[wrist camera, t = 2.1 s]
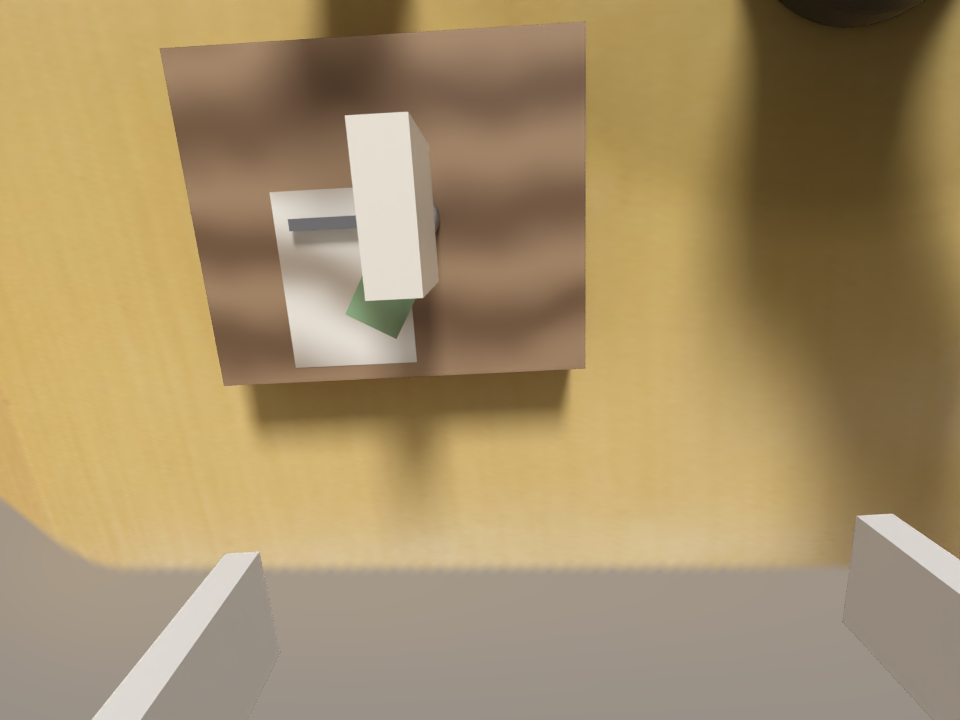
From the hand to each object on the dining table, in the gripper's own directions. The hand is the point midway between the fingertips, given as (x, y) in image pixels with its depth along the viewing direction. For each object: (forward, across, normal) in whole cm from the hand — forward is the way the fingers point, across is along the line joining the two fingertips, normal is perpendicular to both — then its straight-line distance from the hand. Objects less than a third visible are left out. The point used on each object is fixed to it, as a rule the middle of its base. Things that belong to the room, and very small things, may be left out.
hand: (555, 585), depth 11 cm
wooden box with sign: (+27, -7, +9) cm, 29 cm away
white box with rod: (+22, -8, +9) cm, 25 cm away
